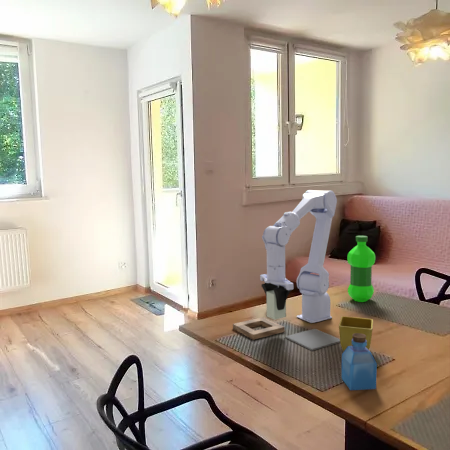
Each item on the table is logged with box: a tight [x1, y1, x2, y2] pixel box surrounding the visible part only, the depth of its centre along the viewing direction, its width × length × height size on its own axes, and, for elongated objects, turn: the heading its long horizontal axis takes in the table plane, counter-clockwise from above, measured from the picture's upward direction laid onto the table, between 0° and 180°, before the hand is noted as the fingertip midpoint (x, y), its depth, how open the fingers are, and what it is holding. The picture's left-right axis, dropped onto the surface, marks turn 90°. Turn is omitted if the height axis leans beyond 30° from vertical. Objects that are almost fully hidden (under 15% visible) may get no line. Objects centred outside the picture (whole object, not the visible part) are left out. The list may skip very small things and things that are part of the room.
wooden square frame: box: [232, 316, 286, 341], centre depth 147 cm, size 12×12×2 cm
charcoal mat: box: [285, 328, 341, 351], centre depth 138 cm, size 12×12×1 cm
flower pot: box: [338, 315, 374, 352], centre depth 127 cm, size 9×9×9 cm
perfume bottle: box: [341, 333, 378, 391], centre depth 109 cm, size 6×6×12 cm
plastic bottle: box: [347, 235, 376, 303], centre depth 176 cm, size 10×10×25 cm
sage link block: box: [265, 290, 287, 321], centre depth 143 cm, size 4×4×8 cm
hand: (276, 307), depth 143 cm, fingers closed on sage link block, 4 cm apart
